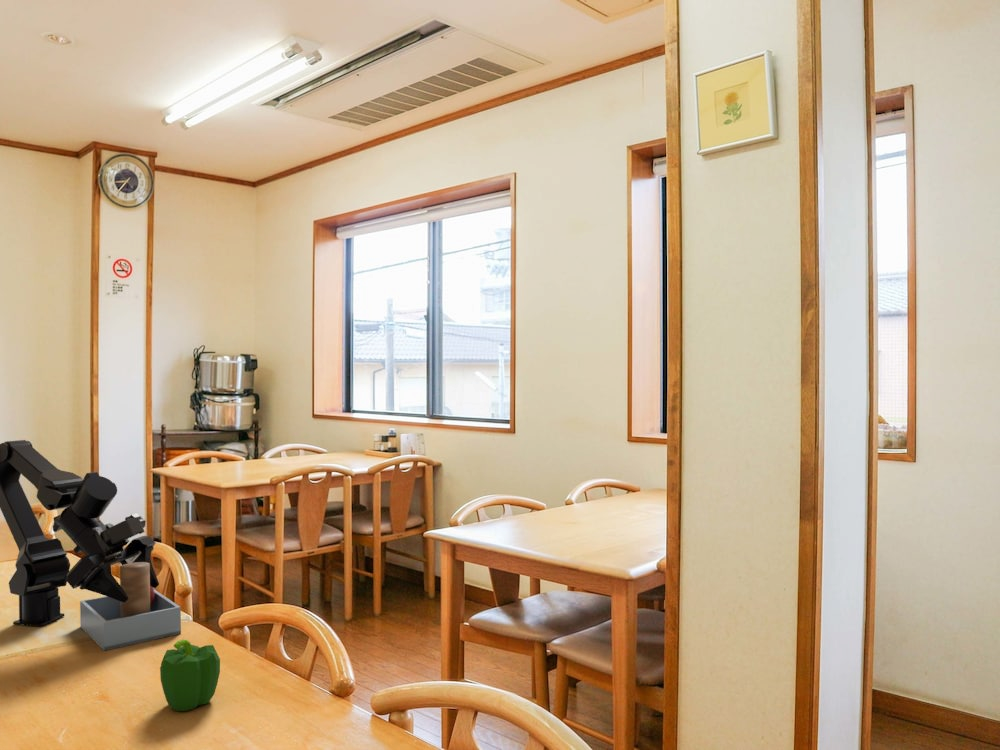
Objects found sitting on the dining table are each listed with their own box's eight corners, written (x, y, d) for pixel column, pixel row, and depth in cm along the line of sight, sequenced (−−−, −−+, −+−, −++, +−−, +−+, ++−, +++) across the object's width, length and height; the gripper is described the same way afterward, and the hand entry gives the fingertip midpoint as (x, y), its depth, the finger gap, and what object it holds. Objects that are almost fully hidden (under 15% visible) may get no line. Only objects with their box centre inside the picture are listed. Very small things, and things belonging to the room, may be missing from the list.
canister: (118, 638, 142) (117, 569, 142) (123, 629, 147) (122, 563, 147) (148, 635, 143) (147, 567, 143) (152, 626, 148) (151, 561, 148)
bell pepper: (201, 687, 121) (200, 623, 121) (230, 701, 116) (229, 634, 116) (147, 706, 115) (146, 638, 114) (176, 722, 109) (175, 651, 109)
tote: (80, 626, 150) (80, 600, 150) (152, 612, 159) (152, 587, 159) (104, 650, 137) (103, 622, 137) (180, 633, 146) (180, 607, 146)
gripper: (80, 511, 136) (138, 577, 135) (145, 494, 155) (197, 551, 153) (41, 555, 138) (98, 620, 136) (110, 533, 156) (161, 590, 154)
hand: (142, 593), depth 145 cm, fingers open, 9 cm apart
